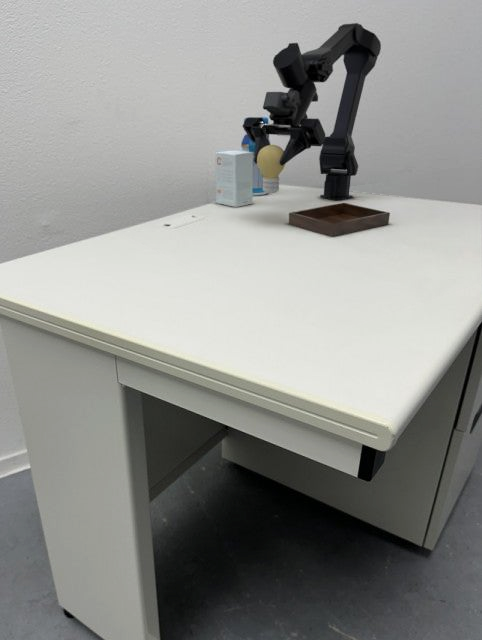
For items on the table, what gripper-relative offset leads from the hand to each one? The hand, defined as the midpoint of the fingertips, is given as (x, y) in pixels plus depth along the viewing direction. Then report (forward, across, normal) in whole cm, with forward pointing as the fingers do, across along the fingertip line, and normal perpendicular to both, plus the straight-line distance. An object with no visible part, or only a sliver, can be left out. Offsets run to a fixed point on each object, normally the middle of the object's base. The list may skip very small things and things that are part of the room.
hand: (267, 163), depth 120 cm
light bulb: (+4, 0, +6) cm, 7 cm away
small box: (0, -20, +20) cm, 28 cm away
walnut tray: (+4, +14, +15) cm, 21 cm away
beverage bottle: (-11, -23, +30) cm, 40 cm away
